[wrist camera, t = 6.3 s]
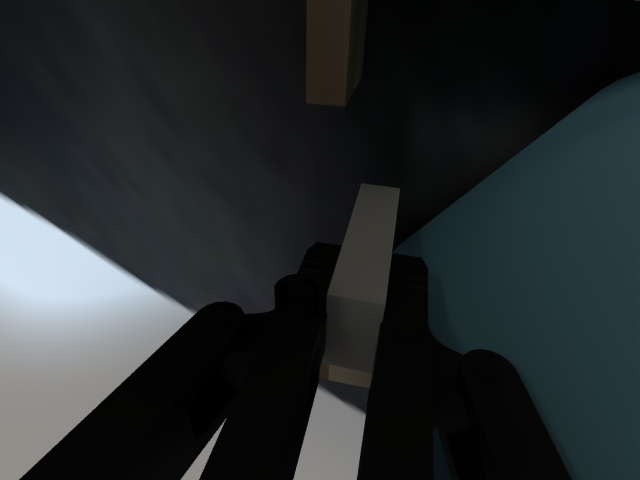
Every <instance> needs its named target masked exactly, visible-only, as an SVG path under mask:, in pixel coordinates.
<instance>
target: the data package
mask: <svg viewBox="0 0 640 480" xmlns="http://www.w3.org/2000/svg"><path fill="white" fill-rule="evenodd" d="M392 253H396V254H403V255H409V256H415V257H422V259H423V261H424V262H425V264H426V265H427V267H428V324H429V329H430V331H431V333H432V335H433V336H434V337H435V338H436V339H437V340H438V341H439V342H440V343H442V344H443V345H444V346H446V347H448V348H450V349H452V350H454V351H456V352H458V353H461V354H463V355H464V354H466V353H467V352H469V351H470V350H475V349H485V350H491V351H493V352H495V353H497V354H500V355H502V356H503V357H504V358H506V359H507V360H508V361H509V362H511V364H512V365H513V366H514V368H515V369H516V370H517V372H518V374H519V376H520V378H521V380H522V382H523V384H524V386H525V388H526V390H527V392H528V394H529V396H530V398H531V400H532V402H533V404H534V406H535V408H536V409H537V411H538V413H539V415H540V417H541V419H542V421H543V423H544V425H545V427H546V429H547V431H548V433H549V435H550V437H551V439H552V441H553V443H554V445H555V447H556V449H557V451H558V453H559V455H560V457H561V459H562V461H563V463H564V465H565V467H566V469H567V471H568V473H569V475H570V477H571V479H572V480H640V72H638V73H635V74H632V75H629V76H627V77H624V78H622V79H620V80H618V81H615V82H614V83H612V84H610V85H608V86H606V87H605V88H603V89H602V90H600V91H599V92H597V93H596V94H595V95H593V96H592V97H591V98H589V99H588V100H587V101H585V102H584V103H583V104H582V105H580V106H579V107H578V108H576V109H575V110H574V111H572V112H571V113H570V114H569V115H567V116H566V117H565V118H563V119H562V120H561V121H560V122H558V123H557V124H556V125H554V126H553V127H552V128H550V129H549V130H548V131H547V132H545V133H544V134H543V135H541V136H540V137H539V138H537V139H536V140H535V141H534V142H532V143H531V144H530V145H528V146H527V147H526V148H524V149H523V150H522V151H521V152H519V153H518V154H517V155H515V156H514V157H513V158H511V159H510V160H509V161H508V162H506V163H505V164H504V165H502V166H501V167H500V168H498V169H497V170H496V171H495V172H493V173H492V174H491V175H489V176H488V177H487V178H486V179H484V180H483V181H482V182H480V183H479V184H478V185H476V186H475V187H474V188H473V189H471V190H470V191H469V192H467V193H466V194H465V195H463V196H462V197H461V198H460V199H458V200H457V201H456V202H454V203H453V204H452V205H450V206H449V207H448V208H447V209H445V210H444V211H443V212H441V213H440V214H439V215H437V216H436V217H435V218H434V219H432V220H431V221H430V222H428V223H427V224H426V225H424V226H423V227H422V228H421V229H419V230H418V231H417V232H415V233H414V234H413V235H412V236H410V237H409V238H408V239H406V240H405V241H404V242H402V243H401V244H400V245H399V246H398V247H397V248H396V249H395V250H394V251H393V252H392ZM433 480H451V476H450V473H449V469H448V465H447V462H446V458H445V454H444V451H443V447H442V443H441V440H440V436H439V431H438V429H436V428H434V427H433Z"/></svg>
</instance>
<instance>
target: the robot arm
mask: <svg viewBox="0 0 640 480" xmlns="http://www.w3.org/2000/svg"><path fill="white" fill-rule="evenodd" d="M399 193H400V188H394V187H386V186H379V185H371V184H363V183H361V186H360V190H359V193H358V196H357V199H356V202H355V206H354V209H353V212H352V215H351V219H350V222H349V225H348V228H347V231H346V235H345V238H344V241H343V244H342V246H339V245H333V244H326V243H320V242H316V243H315V244H314V245H313V246H311V247H310V248H309V249H308V250H307V252H306V254H305V257H304V259H303V261H302V264H301V266H300V269H299V271H298V273H297V274H293V275H288V276H285V277H284V278H282V279H280V280H279V281H278V282H277V283H276V284H275V286H274V288H275V309H274V310H272V311H269V312H265V313H256V314H244V312H243V311H242V309H241V307H239V306H238V305H236V304H234V303H230V302H226V301H225V302H215V303H212V304H209V305H206V306H205V307H203V308H202V309H200V310H199V311H198V312H197V313H196V314H195V315H194V316H193V317H192V318H191V319H189V321H187V322H186V323H185V324H184V325H183V326H182V327H181V328H180V329H179V330H178V331H177V332H176V333H175V334H174V335H172V336H171V337H170V338H169V339H168V340H167V341H166V342H165V343H164V344H163V345H162V346H161V347H160V348H159V349H158V350H157V351H156V352H155V353H153V354H152V355H151V356H150V357H149V358H148V359H147V360H146V361H145V362H144V363H143V364H142V365H141V366H140V367H138V368H137V369H136V370H135V372H133V373H132V374H131V375H130V376H129V377H128V378H127V379H126V380H125V381H124V382H123V383H121V385H119V386H118V387H117V388H116V389H115V390H114V391H113V392H112V393H111V394H110V395H109V396H108V397H107V398H105V400H103V401H102V402H101V403H100V404H99V405H98V406H97V407H96V408H95V409H94V410H93V411H92V412H91V413H90V414H88V416H86V417H85V418H84V420H82V421H81V422H80V423H79V424H78V425H77V426H76V427H75V428H74V429H73V430H71V431H70V432H69V434H67V435H66V436H65V437H64V438H63V439H62V440H61V441H60V442H59V443H58V444H57V445H56V446H54V447H53V448H52V449H51V450H50V451H49V452H48V453H47V454H46V455H45V456H44V457H43V458H42V459H41V460H40V461H39V462H38V463H36V464H35V465H34V466H33V467H32V468H31V469H30V470H29V471H28V472H27V473H26V474H25V475H24V476H23V477H22V478H20V479H19V480H181V478H182V477H183V476H184V474H185V473H186V471H187V470H188V469H189V468H190V466H191V465H192V464H193V462H194V461H195V459H196V458H197V457H198V455H199V454H200V453H201V451H202V450H203V449H204V447H205V446H206V445H207V443H208V442H209V441H210V439H211V438H212V437H213V435H214V434H215V433H216V431H217V430H218V429H219V427H220V426H221V425H222V423H223V422H224V420H225V419H226V421H225V423H224V425H223V427H222V430H221V432H220V434H219V436H218V438H217V441H216V443H215V445H214V447H213V450H212V452H211V454H210V456H209V459H208V461H207V463H206V465H205V468H204V470H203V472H202V475H201V477H200V479H199V480H293V478H294V474H295V471H296V466H297V463H298V459H299V455H300V451H301V448H302V444H303V440H304V436H305V432H306V429H307V425H308V421H309V417H310V413H311V409H312V406H313V402H314V398H315V394H316V390H317V386H318V383H319V376H320V366H321V363H322V359H323V363H324V364H329V365H334V366H339V367H344V368H349V369H353V370H358V371H363V372H368V373H372V379H371V385H370V390H369V396H368V402H367V411H366V419H365V426H364V433H363V441H362V447H361V454H360V461H359V469H358V476H357V480H433V427H434V428H436V429H438V431H439V436H440V440H441V443H442V447H443V451H444V454H445V458H446V462H447V465H448V469H449V473H450V476H451V480H572V479H571V477H570V475H569V473H568V471H567V469H566V467H565V465H564V463H563V461H562V459H561V457H560V455H559V453H558V451H557V449H556V447H555V445H554V443H553V441H552V439H551V437H550V435H549V433H548V431H547V429H546V427H545V425H544V423H543V421H542V419H541V417H540V415H539V413H538V411H537V409H536V408H535V406H534V404H533V402H532V400H531V398H530V396H529V394H528V392H527V390H526V388H525V386H524V384H523V382H522V380H521V378H520V376H519V374H518V372H517V370H516V369H515V368H514V366H513V365H512V364H511V362H509V361H508V360H507V359H506V358H504V357H503V356H502V355H500V354H497V353H495V352H493V351H491V350H485V349H475V350H470V351H469V352H467V353H466V354H464V355H463V354H461V353H458V352H456V351H454V350H452V349H450V348H448V347H446V346H444V345H443V344H442V343H440V342H439V341H438V340H437V339H436V338H435V337H434V336H433V335H432V333H431V331H430V329H429V324H428V267H427V265H426V264H425V262H424V261H423V259H422V257H415V256H409V255H403V254H396V253H392V249H393V241H394V233H395V225H396V217H397V209H398V201H399Z"/></svg>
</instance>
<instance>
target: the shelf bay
mask: <svg viewBox="0 0 640 480" xmlns="http://www.w3.org/2000/svg"><path fill="white" fill-rule="evenodd" d="M368 1H369V0H307V30H306V103H309V104H320V105H331V106H342V107H345V106H346V104H347V102H348V101H349V99H350V97H351V95H352V94H353V92H354V90H355V89H356V87H357V85H358V83H359V82H360V80H361V78H362V74H363V62H364V50H365V37H366V25H367V13H368ZM637 1H640V0H637ZM319 378H321V379H326V380H330V381H335V382H340V383H345V384H350V385H355V386H360V387H365V388H369V389H370V385H371V379H372V373H368V372H363V371H358V370H353V369H349V368H344V367H339V366H334V365H329V364H324V363H323V359H322V363H321V366H320V376H319Z"/></svg>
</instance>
